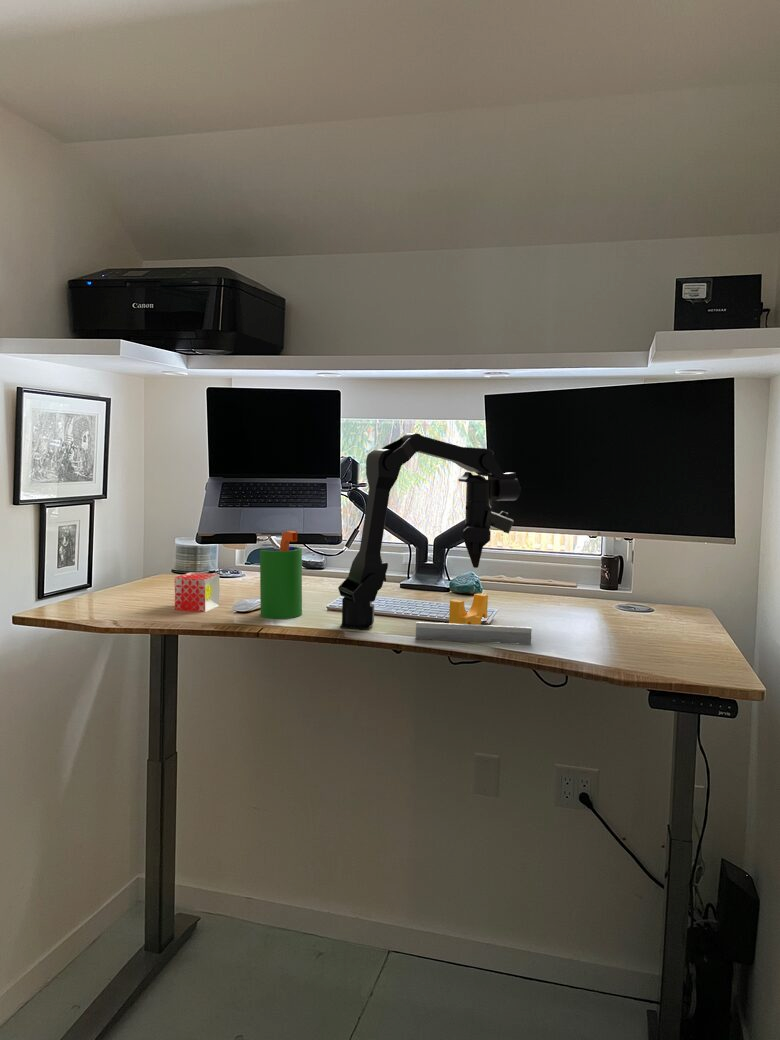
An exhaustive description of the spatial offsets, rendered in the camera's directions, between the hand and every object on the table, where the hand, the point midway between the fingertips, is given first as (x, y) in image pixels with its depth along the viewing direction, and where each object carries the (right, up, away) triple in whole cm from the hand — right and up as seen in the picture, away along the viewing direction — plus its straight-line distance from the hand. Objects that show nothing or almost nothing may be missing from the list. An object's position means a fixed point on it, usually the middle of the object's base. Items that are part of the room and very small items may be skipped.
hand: (475, 566), depth 191 cm
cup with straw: (-46, -12, -2) cm, 48 cm away
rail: (-3, -14, -23) cm, 28 cm away
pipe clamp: (-2, -13, -9) cm, 16 cm away
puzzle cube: (-67, -11, +3) cm, 68 cm away
